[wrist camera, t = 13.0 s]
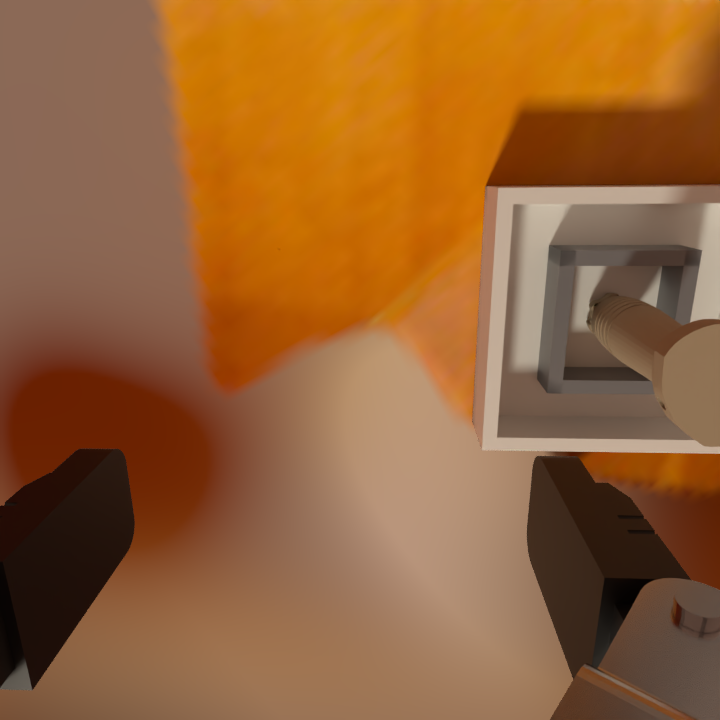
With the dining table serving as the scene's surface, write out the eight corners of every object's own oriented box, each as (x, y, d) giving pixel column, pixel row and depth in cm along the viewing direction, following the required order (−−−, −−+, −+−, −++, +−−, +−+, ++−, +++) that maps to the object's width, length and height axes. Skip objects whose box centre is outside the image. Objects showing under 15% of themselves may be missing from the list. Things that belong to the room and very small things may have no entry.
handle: (620, 258, 41) (745, 306, 27) (655, 335, 43) (789, 418, 28) (557, 291, 42) (644, 355, 28) (592, 365, 44) (692, 461, 29)
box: (485, 185, 41) (498, 187, 36) (749, 184, 40) (798, 185, 35) (472, 421, 47) (481, 450, 42) (704, 424, 46) (741, 453, 41)
